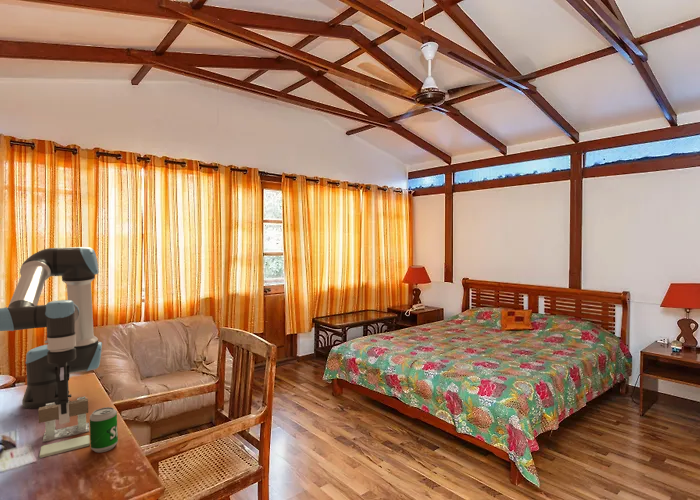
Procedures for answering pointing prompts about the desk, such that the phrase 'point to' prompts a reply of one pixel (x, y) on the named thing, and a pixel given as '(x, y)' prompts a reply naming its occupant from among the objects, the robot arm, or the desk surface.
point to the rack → (64, 432)
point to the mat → (64, 446)
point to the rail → (53, 411)
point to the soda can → (103, 429)
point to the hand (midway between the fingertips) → (64, 420)
